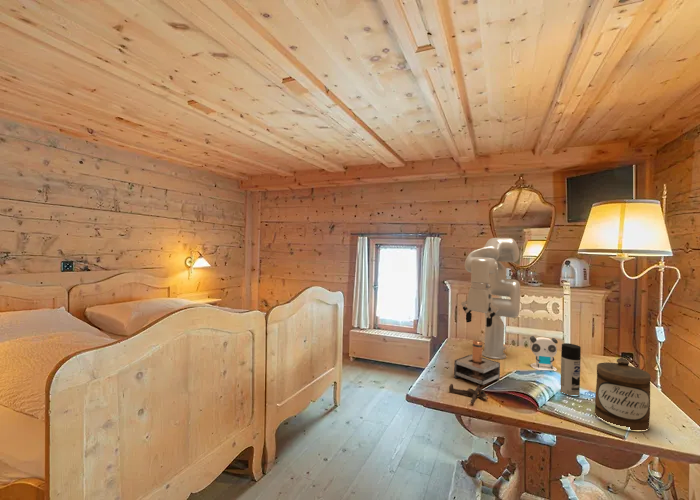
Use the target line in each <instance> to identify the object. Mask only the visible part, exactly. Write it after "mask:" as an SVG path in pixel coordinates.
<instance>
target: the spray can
mask: <svg viewBox="0 0 700 500" xmlns="http://www.w3.org/2000/svg"><path fill="white" fill-rule="evenodd" d="M581 348H582V347H581V346H580V345H578V344H575V343H568V342H567V343H566V342H565V343H562V344H561V351H560V352H561V354H560V355H561V356H560V385H561V391H560V393H561V392H563V393H565V394H568V395H579V396H580V393H581V392H580V391H581V389H580V388H581V387H580V385H581V359H582V357H581V353H582V351H581V350H582V349H581ZM563 393H562V394H563ZM565 394H564V395H565Z"/></svg>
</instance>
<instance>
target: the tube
mask: <svg viewBox="0 0 700 500" xmlns="http://www.w3.org/2000/svg"><path fill="white" fill-rule="evenodd" d="M483 345H484V344H483V341H482V340H476V339H474V340H472V362H473V363H476V364H479V365H480V364H482V358H483V355H482V351H483V347H484V346H483ZM472 374H475V375H478V376H481V372H478V371H475V370H472Z"/></svg>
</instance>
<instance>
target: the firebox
mask: <svg viewBox="0 0 700 500" xmlns="http://www.w3.org/2000/svg"><path fill="white" fill-rule="evenodd" d="M472 355H473V353H472V354H468V355H466V356H463V357H459V358H457V359H454V366H453V371H454V372H453V378H454V379H458V378H462V379H466V380H468V381H471V382H473V383H475V384H476V383H477V384H478V385H482V386H485V385H486V384H489V383H490V382H493V381H496V380H499V379H501V378H500V377H501V376H500V375H501V374H500V372H501V362H500V361H495V360H492V359H490V358H489V359H488V358H487V357H482V364H480V365H479V364H476V363H473V362H472ZM472 370H475V371H478V372H481V376H478V375H475V374H472ZM499 381H500V380H499Z"/></svg>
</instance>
